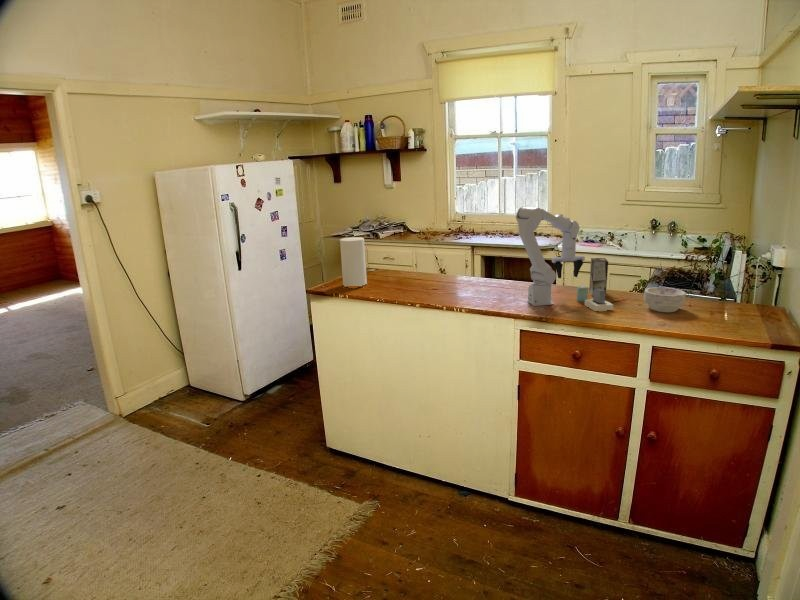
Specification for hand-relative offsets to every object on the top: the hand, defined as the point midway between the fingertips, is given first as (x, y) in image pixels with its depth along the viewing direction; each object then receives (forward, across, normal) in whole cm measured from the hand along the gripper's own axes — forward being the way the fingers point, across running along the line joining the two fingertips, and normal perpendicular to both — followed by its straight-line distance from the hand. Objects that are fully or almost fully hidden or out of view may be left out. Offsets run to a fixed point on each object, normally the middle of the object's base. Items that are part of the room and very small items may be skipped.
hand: (567, 277), depth 237 cm
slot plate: (+9, +6, -19) cm, 22 cm away
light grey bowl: (+10, +29, -28) cm, 41 cm away
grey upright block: (+9, +4, -7) cm, 12 cm away
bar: (+9, +6, -19) cm, 22 cm away
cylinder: (+10, -94, +51) cm, 107 cm away
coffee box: (+10, +16, +2) cm, 19 cm away
